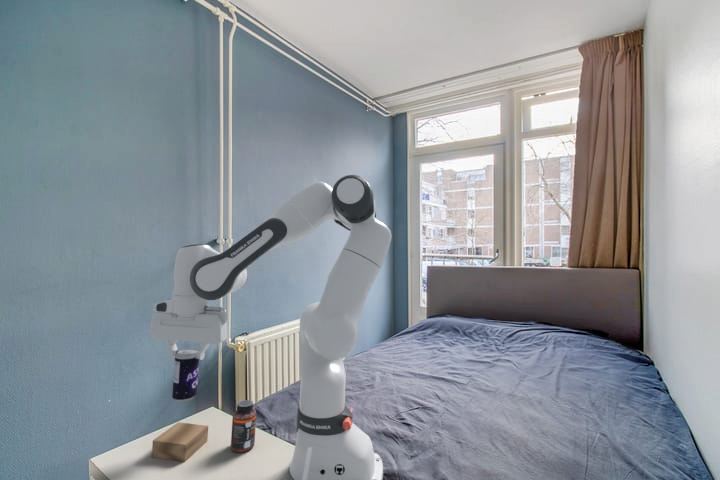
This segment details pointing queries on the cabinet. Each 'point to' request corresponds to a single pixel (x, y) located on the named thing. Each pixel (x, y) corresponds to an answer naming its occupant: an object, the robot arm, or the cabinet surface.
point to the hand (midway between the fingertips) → (187, 358)
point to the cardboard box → (180, 441)
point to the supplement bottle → (243, 427)
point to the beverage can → (185, 375)
